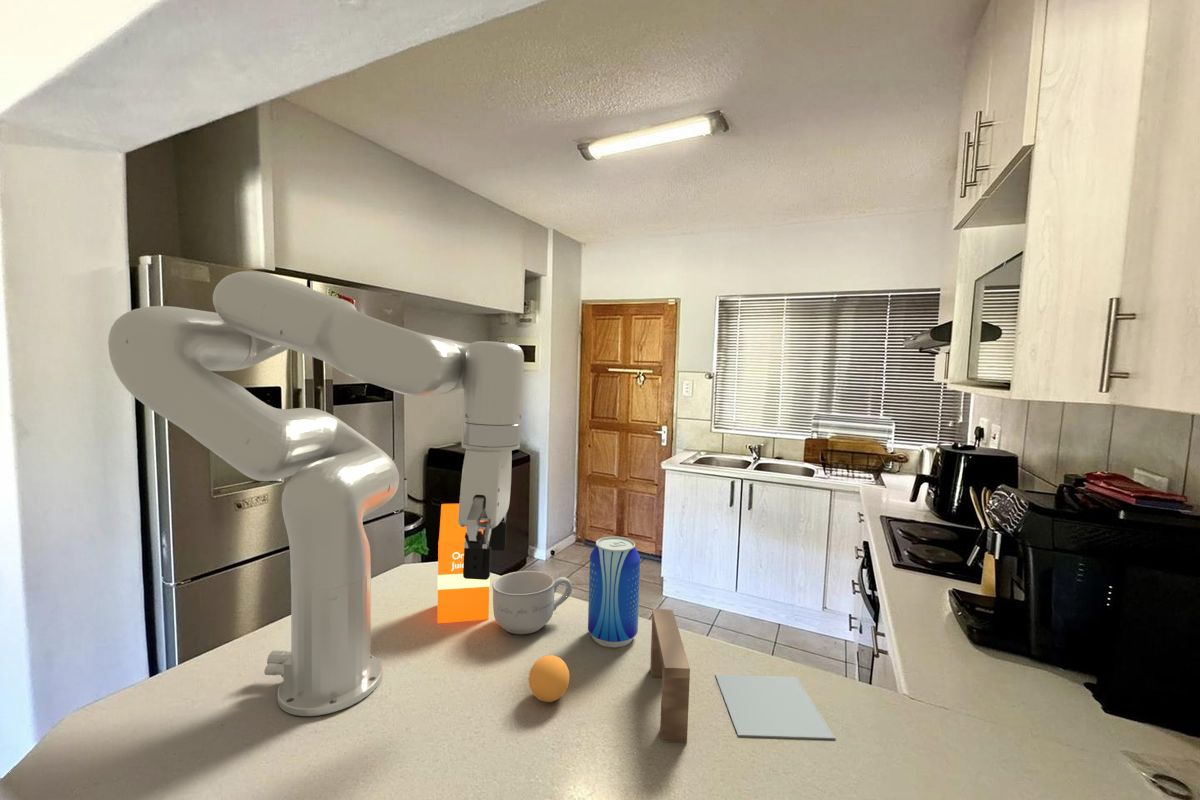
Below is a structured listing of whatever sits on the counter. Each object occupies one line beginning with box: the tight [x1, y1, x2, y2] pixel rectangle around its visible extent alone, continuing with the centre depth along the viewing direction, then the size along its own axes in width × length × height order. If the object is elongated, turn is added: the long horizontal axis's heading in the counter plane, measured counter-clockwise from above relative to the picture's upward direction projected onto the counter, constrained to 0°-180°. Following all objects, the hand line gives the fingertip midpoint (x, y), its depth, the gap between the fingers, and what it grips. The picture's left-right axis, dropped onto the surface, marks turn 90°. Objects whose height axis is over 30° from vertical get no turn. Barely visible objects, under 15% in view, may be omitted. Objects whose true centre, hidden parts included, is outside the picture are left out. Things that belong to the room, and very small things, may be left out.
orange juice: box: [437, 503, 491, 624], centre depth 88 cm, size 8×9×20 cm
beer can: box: [587, 536, 641, 648], centre depth 81 cm, size 8×8×16 cm
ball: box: [528, 654, 571, 703], centre depth 66 cm, size 6×6×6 cm
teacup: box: [491, 570, 573, 635], centre depth 84 cm, size 14×11×8 cm
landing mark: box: [715, 674, 837, 740], centre depth 66 cm, size 12×12×1 cm
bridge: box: [650, 608, 691, 743], centre depth 65 cm, size 3×14×9 cm, turn 0°
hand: (485, 562), depth 65 cm, fingers open, 9 cm apart
